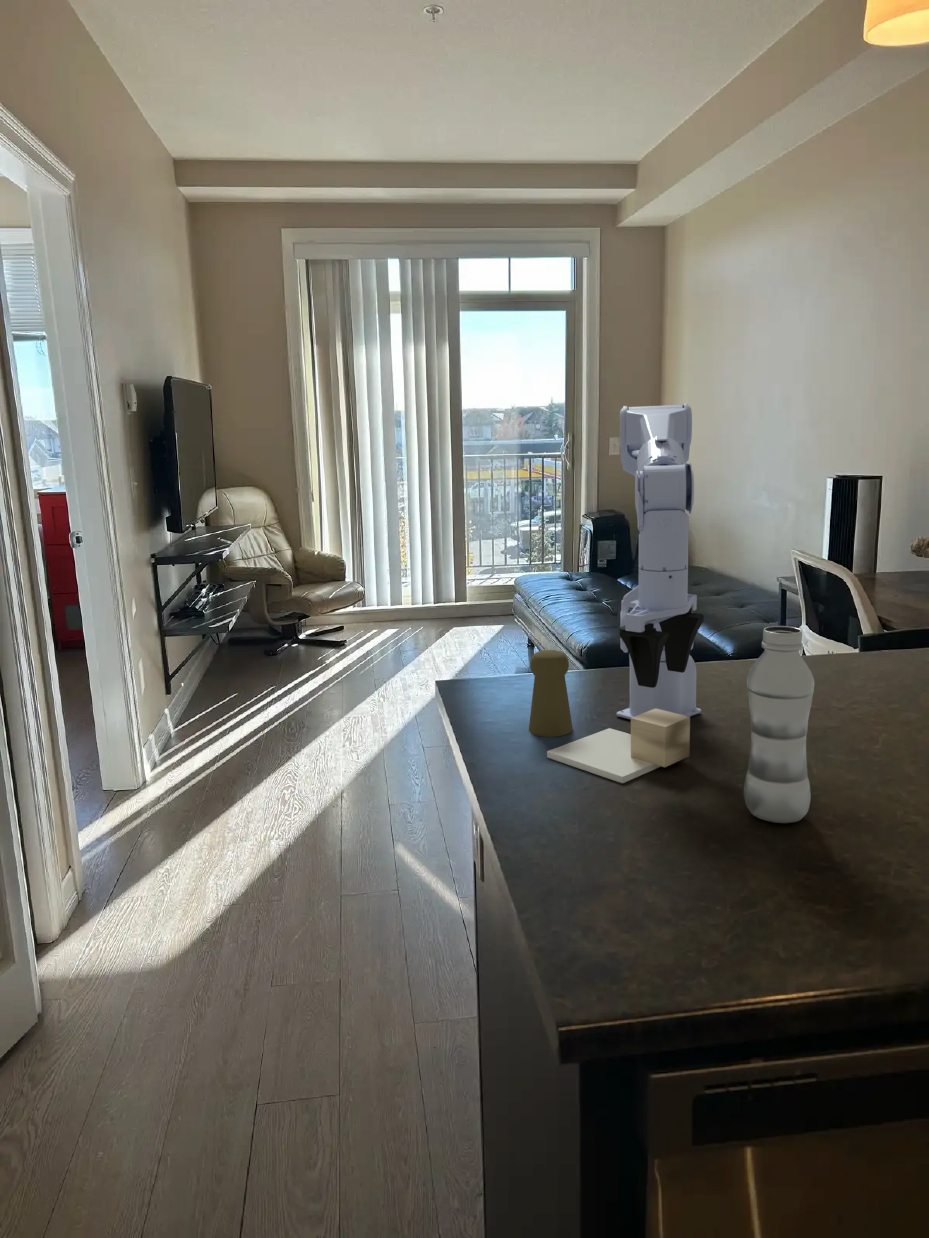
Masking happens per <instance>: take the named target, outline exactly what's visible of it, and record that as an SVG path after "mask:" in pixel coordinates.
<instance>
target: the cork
mask: <svg viewBox="0 0 929 1238" xmlns="http://www.w3.org/2000/svg"><path fill="white" fill-rule="evenodd" d="M529 665H530V671H531V673H532V674H533V676H534V677H533V678H534V679H533V680H534V681H533V687H532V696H531V705H530V716H529V725H528V732H529V733H530V734H532V735H534V736H538V737H546V738H550V737H551V738H553V737H554V738H555V737H557V738H558V737H563V736H567V735H569V734H570V733H572V732H573V730H574V729H573V723H572V722H573V721H572V717H571V716H572V715H571V714H572V713H571V710H570V701H569V695H568V689H567V681H566V675H567V673H568V671H569V667H570V666H569V665H570V660H569V658H568V656H567V654H566V653H565V652H563V651H560V650H555V649H545V650H544V649H543V650H539V651H536V652H535V653H533V655H532V656H531V658H530V664H529Z"/></svg>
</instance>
